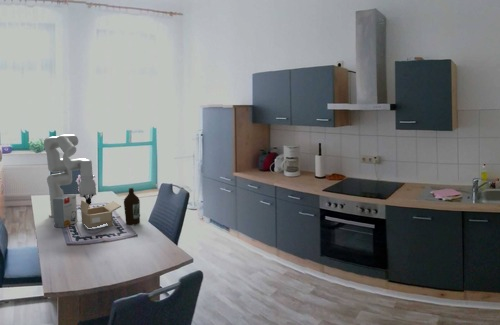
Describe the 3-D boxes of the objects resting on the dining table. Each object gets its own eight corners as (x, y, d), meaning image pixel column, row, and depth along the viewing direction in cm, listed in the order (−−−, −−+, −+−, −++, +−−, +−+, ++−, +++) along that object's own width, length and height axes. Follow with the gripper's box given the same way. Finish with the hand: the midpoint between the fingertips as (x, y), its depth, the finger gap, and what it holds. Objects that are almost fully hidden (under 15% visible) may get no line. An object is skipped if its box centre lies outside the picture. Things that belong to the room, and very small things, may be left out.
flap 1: (81, 209, 280) (80, 209, 280) (82, 199, 280) (81, 199, 280) (87, 214, 267) (86, 214, 267) (88, 204, 267) (87, 204, 266)
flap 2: (113, 200, 293) (114, 201, 293) (104, 205, 290) (105, 206, 290) (120, 205, 280) (121, 206, 280) (111, 210, 276) (112, 211, 277)
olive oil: (121, 224, 280) (119, 189, 276) (132, 220, 289) (130, 186, 286) (133, 226, 275) (131, 190, 272) (143, 222, 285) (142, 187, 281)
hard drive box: (64, 228, 273) (61, 199, 270) (54, 227, 274) (51, 198, 271) (78, 221, 288) (76, 194, 285) (68, 221, 289) (66, 193, 286)
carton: (81, 223, 283) (80, 209, 282) (105, 219, 292) (104, 206, 291) (88, 230, 267) (87, 215, 266) (113, 225, 277) (112, 211, 275)
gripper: (96, 175, 280) (98, 201, 282) (73, 178, 271) (75, 205, 273) (99, 177, 274) (101, 203, 276) (76, 180, 265) (78, 207, 267)
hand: (88, 204), depth 275 cm, fingers closed
